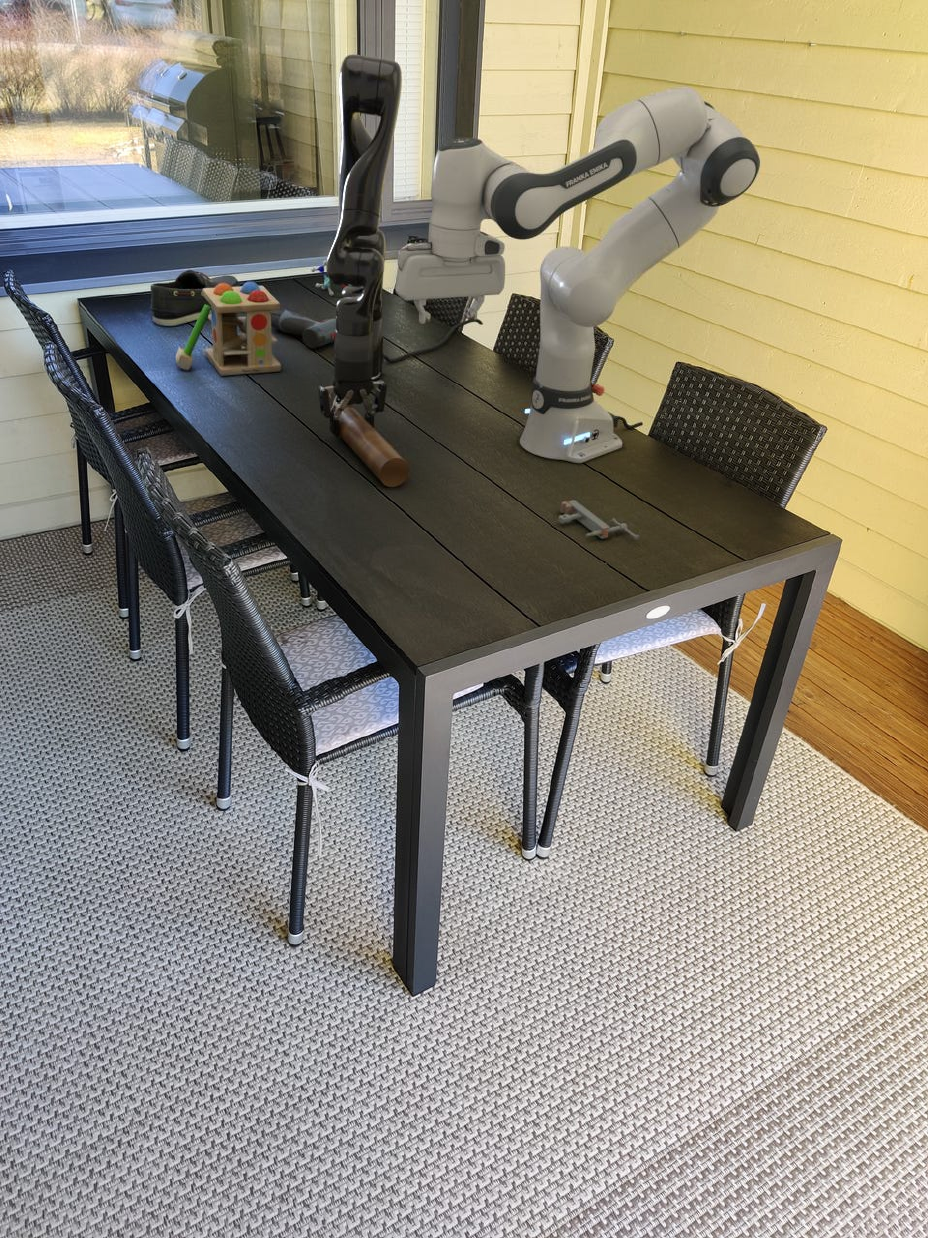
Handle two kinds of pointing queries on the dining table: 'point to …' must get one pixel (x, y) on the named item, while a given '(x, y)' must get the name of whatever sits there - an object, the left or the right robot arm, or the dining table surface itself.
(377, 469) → the rod
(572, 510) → the clamp
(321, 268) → the molecular model
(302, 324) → the power drill
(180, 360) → the pounding bench toy
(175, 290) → the boat shoe
